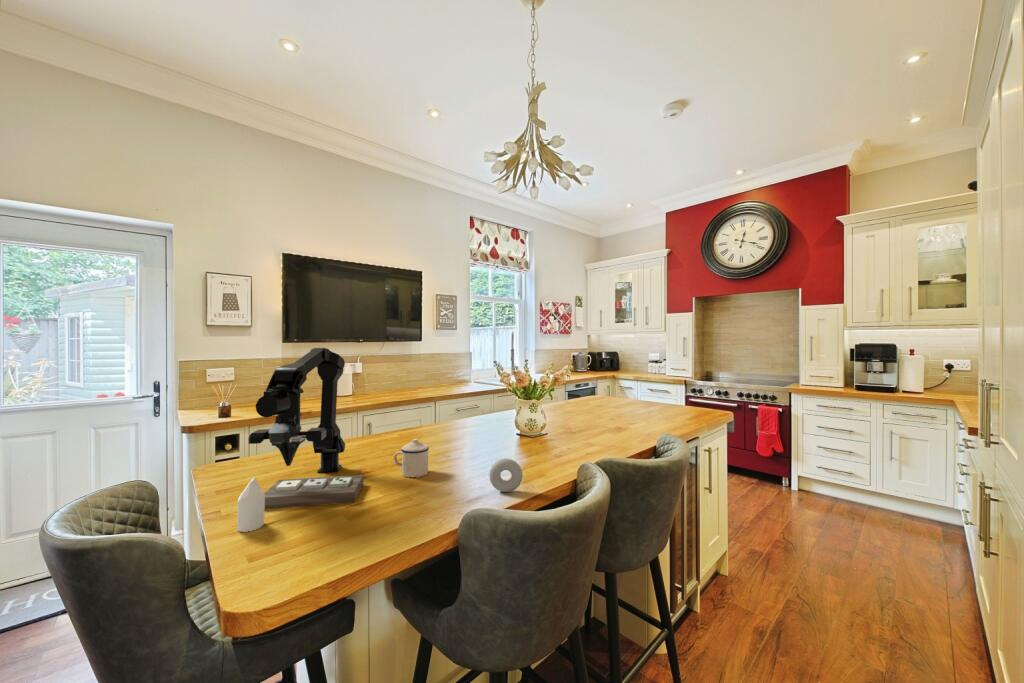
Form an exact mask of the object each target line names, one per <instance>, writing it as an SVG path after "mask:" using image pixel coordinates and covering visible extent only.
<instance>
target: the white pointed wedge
mask: <svg viewBox="0 0 1024 683" xmlns="http://www.w3.org/2000/svg"><path fill="white" fill-rule="evenodd" d="M265 492H266V491H264V490H263V488H262V487H261V485H259V481H258V479H257V477H256V476H254V477H252V479H251V480H249V482H248V484H247V485H246V487H245V489H244V490H243V491H242V492H241V493H240V495H239V496H238V498H237V512H236V513H237V514H236V515H237V517H236V518H237V521H236V530H237V532H240V533H246V532H247V533H249V532H248V531H250V532H254V531H257V530H259V529H260V527H261V526H262V527H263V526H264V524H265V523H264V522H265V512H266V511H265V510H266V509H265ZM262 527H261V528H262ZM258 528H259V529H258ZM256 529H257V530H256ZM253 530H254V531H253Z"/></svg>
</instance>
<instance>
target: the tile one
mask: <svg viewBox="0 0 1024 683" xmlns="http://www.w3.org/2000/svg"><path fill="white" fill-rule="evenodd" d="M300 485H301V480H294V481H282V482H281V483H280V484H279V485H278V486H277V487H276V491H289V490H297V489H298V488H299V487H300Z"/></svg>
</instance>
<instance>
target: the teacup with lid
mask: <svg viewBox="0 0 1024 683" xmlns="http://www.w3.org/2000/svg"><path fill="white" fill-rule="evenodd" d="M429 449H430V447H429V445H428V444H426V443H423V442H421V441H419V439H418V438H413V439H412V440H411V442H409V443H407V444H405V445H403V446H402V447H401V450H399V451H396V452H395V453H394V455H393V460H394V463H395V465H396V466H399V467H401V475H402V476H403V477H405V478H409V477H412V479H414V478H413V477H416V478H421V476H422V477H424V476H426V475H427V474H428V473H429ZM398 455H401V463H400V462H399V461H398V458H397V456H398Z"/></svg>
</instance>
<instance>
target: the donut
mask: <svg viewBox="0 0 1024 683" xmlns="http://www.w3.org/2000/svg"><path fill="white" fill-rule="evenodd" d="M504 471H509V472H510V474H511V477H510V478H509V479H507V480H506V479H503V478H502V476H501V474H502V473H503V472H504ZM523 475H524V474H523V470H522V467H521V466H520V464H519V463H517V461H515V460H513V459H511V458H500V459H499V460H496V461H495V462H494V463H493V464H492V466H491V467H490V469H489V481H490V483H491V485H492V487H493V488H494V489H495V490H497V491H498V492H500V493H501V492H502V493H511V492H513V491H515V490H517V489H518V487H520V485H521V483H522V481H523Z"/></svg>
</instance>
